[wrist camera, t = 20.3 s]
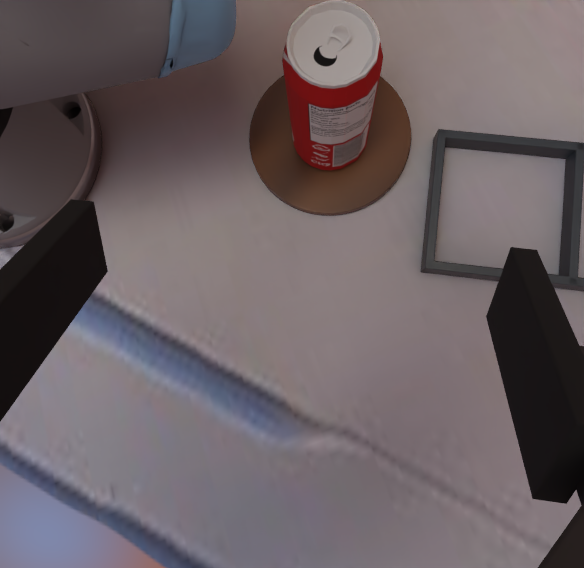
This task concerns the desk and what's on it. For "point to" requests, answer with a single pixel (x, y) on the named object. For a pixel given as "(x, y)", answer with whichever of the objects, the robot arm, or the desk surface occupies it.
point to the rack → (576, 153)
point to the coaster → (329, 183)
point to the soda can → (332, 82)
